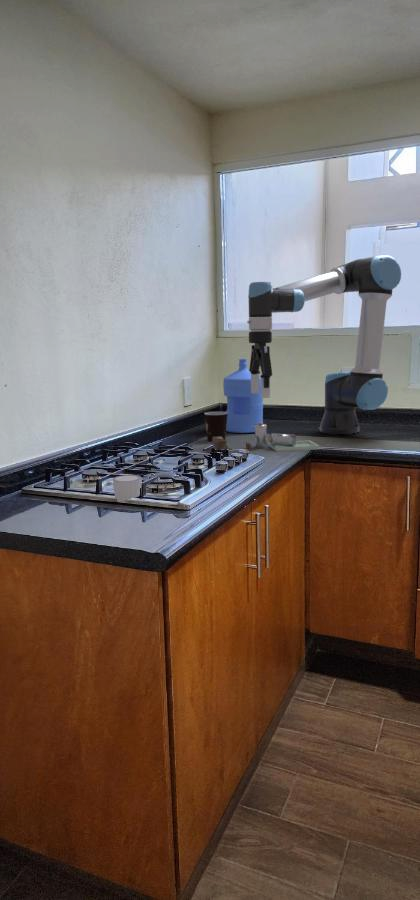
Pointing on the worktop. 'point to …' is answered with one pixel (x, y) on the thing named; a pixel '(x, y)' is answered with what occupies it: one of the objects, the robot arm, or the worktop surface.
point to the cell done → (282, 439)
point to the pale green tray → (297, 446)
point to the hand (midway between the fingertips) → (260, 395)
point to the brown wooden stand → (221, 444)
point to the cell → (260, 435)
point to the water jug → (242, 401)
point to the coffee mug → (215, 424)
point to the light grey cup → (126, 487)
